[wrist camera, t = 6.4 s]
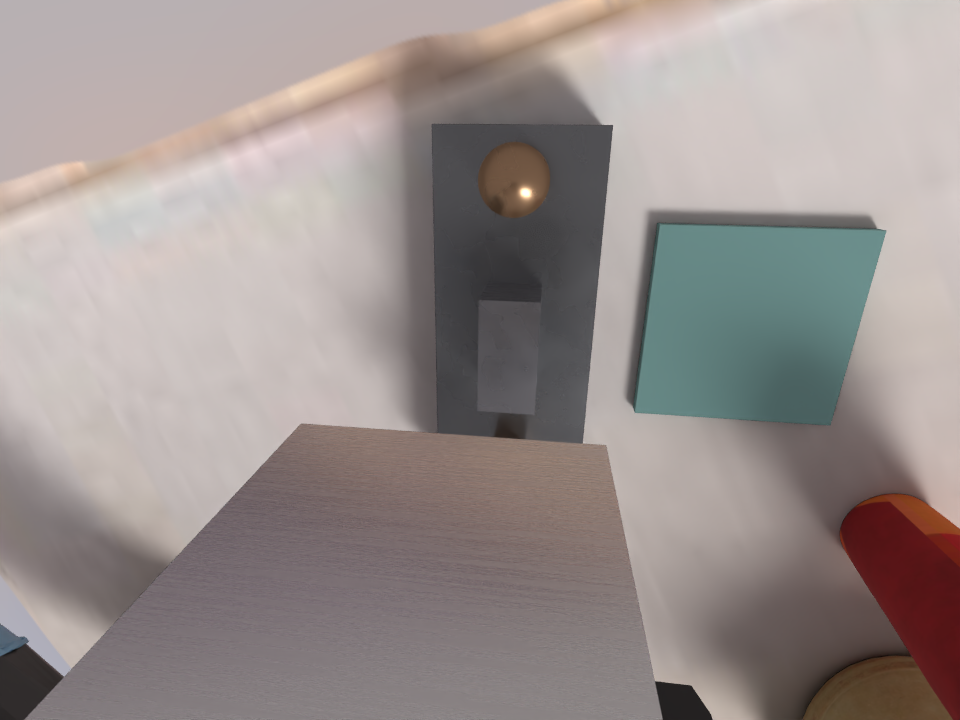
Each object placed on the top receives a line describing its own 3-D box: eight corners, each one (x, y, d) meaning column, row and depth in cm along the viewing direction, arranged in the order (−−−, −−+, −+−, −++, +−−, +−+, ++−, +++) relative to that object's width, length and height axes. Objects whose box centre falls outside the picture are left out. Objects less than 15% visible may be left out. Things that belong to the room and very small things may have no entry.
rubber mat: (633, 407, 35) (634, 412, 34) (657, 222, 31) (660, 224, 30) (824, 419, 34) (830, 425, 33) (877, 228, 29) (886, 230, 29)
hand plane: (449, 457, 38) (417, 553, 29) (446, 128, 30) (400, 114, 21) (574, 467, 37) (582, 569, 28) (604, 129, 29) (630, 115, 20)
